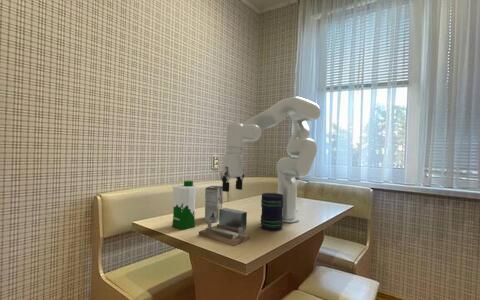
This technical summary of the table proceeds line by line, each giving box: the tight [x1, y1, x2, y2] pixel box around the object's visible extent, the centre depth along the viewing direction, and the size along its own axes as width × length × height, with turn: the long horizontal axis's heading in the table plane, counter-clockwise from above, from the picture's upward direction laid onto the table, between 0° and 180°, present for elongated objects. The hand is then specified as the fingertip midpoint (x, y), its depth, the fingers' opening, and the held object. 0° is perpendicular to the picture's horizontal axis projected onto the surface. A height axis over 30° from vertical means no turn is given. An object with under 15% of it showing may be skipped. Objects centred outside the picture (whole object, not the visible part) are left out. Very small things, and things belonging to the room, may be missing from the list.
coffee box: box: [204, 185, 224, 223], centre depth 130 cm, size 9×6×16 cm
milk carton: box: [172, 180, 198, 231], centre depth 116 cm, size 9×9×20 cm
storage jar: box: [260, 192, 284, 232], centre depth 118 cm, size 10×10×15 cm
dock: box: [198, 220, 251, 246], centre depth 105 cm, size 10×18×5 cm, turn 55°
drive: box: [218, 207, 248, 232], centre depth 116 cm, size 4×12×8 cm, turn 55°
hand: (232, 190), depth 116 cm, fingers open, 9 cm apart
